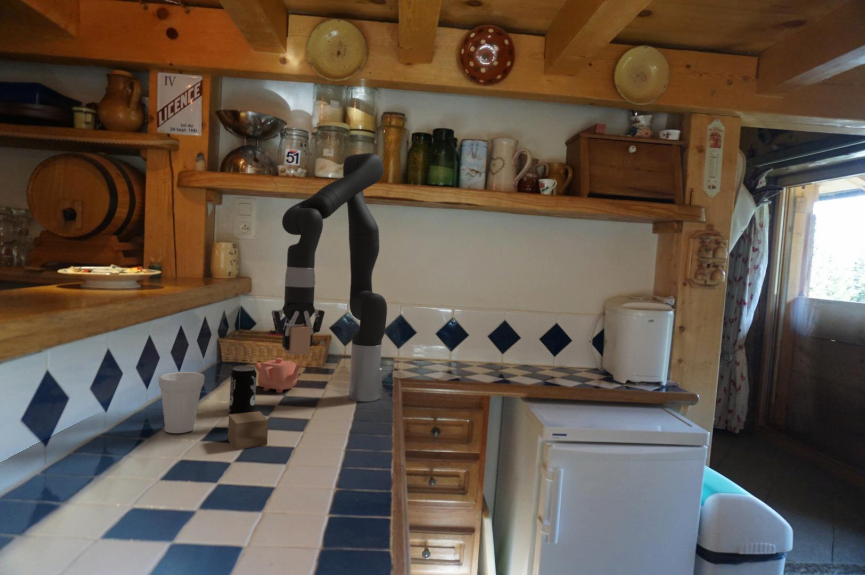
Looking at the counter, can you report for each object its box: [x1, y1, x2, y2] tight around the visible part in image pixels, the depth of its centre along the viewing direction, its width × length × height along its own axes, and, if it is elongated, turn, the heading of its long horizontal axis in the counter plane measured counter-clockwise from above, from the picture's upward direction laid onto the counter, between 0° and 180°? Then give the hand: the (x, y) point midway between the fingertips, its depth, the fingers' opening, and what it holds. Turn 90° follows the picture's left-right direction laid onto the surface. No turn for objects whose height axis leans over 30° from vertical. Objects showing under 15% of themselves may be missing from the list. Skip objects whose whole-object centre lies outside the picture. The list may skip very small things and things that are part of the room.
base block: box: [227, 411, 269, 450], centre depth 119 cm, size 7×7×6 cm
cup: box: [158, 371, 206, 434], centre depth 124 cm, size 10×10×13 cm
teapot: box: [253, 357, 304, 394], centre depth 166 cm, size 14×12×10 cm
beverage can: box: [229, 365, 257, 414], centre depth 142 cm, size 7×7×12 cm
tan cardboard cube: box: [284, 324, 311, 356], centre depth 137 cm, size 5×5×7 cm
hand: (297, 348), depth 137 cm, fingers closed on tan cardboard cube, 5 cm apart
